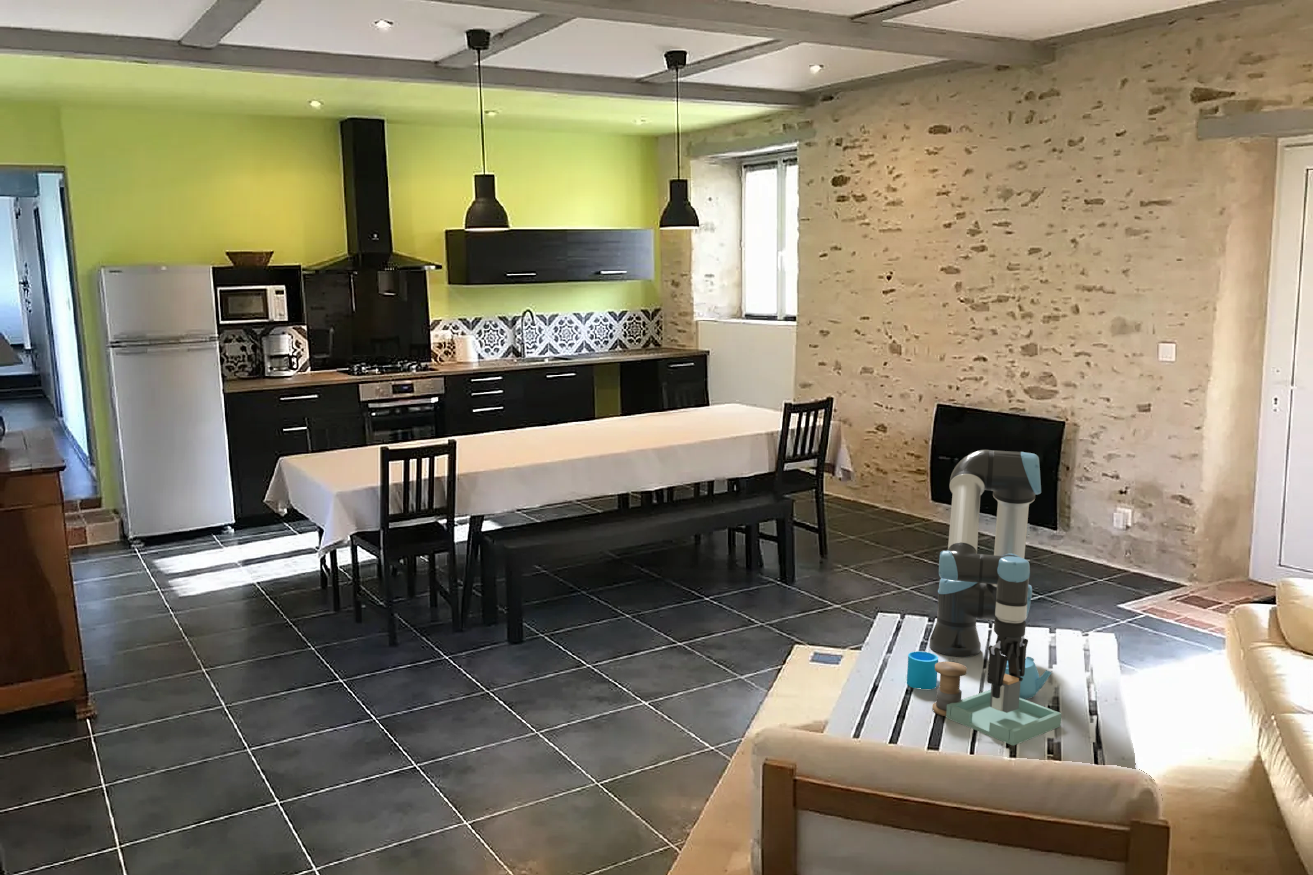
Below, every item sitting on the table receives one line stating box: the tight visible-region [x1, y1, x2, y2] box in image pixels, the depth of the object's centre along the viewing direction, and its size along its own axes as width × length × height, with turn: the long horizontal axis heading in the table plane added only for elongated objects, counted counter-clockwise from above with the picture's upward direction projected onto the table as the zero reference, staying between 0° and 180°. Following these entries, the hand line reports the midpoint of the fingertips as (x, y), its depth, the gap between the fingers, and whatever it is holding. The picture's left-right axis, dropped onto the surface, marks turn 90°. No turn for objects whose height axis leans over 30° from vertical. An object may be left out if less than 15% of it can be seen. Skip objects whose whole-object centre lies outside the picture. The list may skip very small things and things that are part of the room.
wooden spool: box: [931, 661, 968, 717], centre depth 273 cm, size 8×8×12 cm
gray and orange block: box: [990, 674, 1020, 713], centre depth 267 cm, size 5×5×8 cm
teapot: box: [1005, 656, 1052, 700], centre depth 285 cm, size 15×14×11 cm
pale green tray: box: [945, 689, 1062, 746], centre depth 268 cm, size 20×20×4 cm
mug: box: [906, 650, 939, 690], centre depth 293 cm, size 12×8×8 cm
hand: (1004, 706), depth 267 cm, fingers closed on gray and orange block, 5 cm apart
